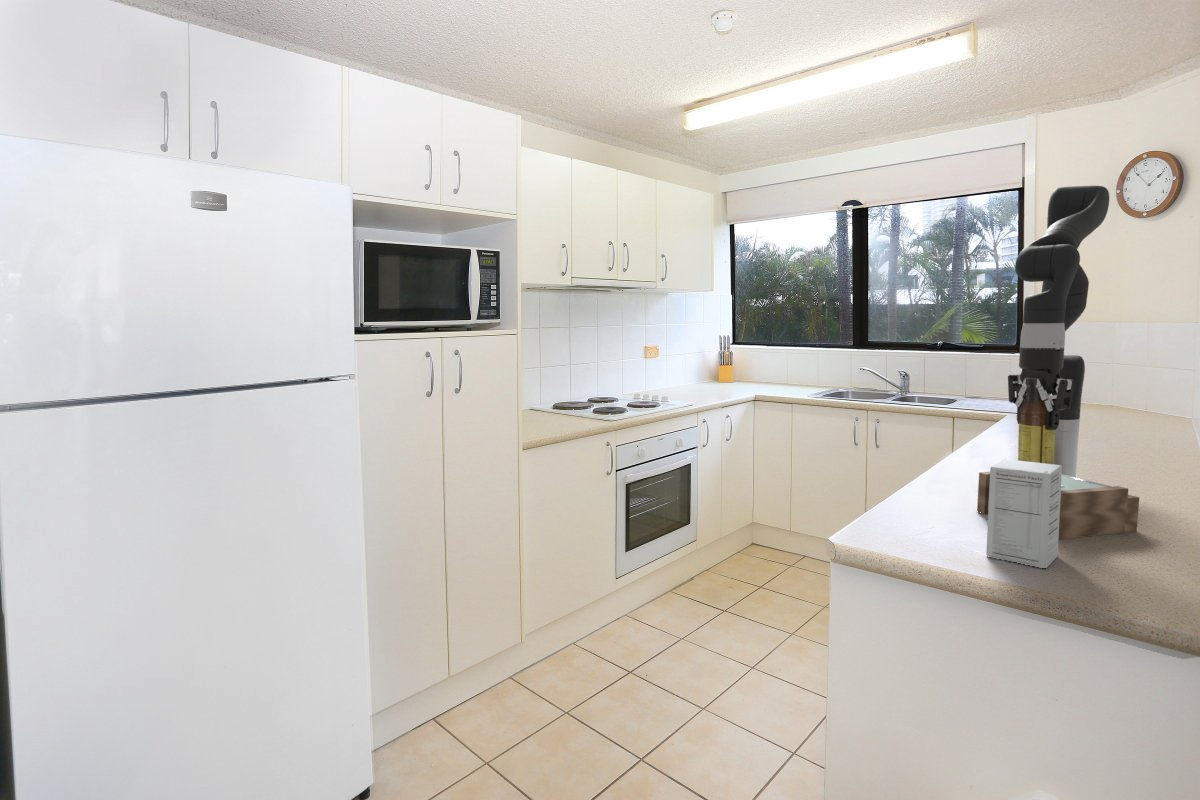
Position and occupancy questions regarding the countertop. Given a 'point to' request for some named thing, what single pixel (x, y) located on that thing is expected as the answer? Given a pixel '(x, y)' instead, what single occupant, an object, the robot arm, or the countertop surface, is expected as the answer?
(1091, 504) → the frame
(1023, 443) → the sauce bottle
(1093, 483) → the trapdoor
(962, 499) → the countertop surface
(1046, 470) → the supplement box
